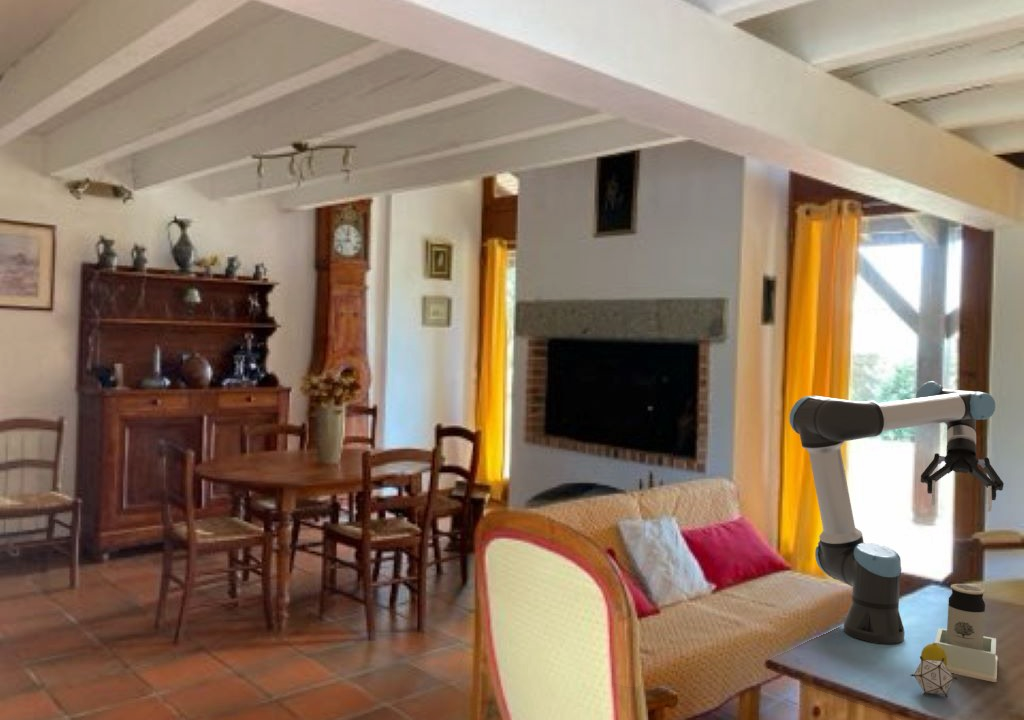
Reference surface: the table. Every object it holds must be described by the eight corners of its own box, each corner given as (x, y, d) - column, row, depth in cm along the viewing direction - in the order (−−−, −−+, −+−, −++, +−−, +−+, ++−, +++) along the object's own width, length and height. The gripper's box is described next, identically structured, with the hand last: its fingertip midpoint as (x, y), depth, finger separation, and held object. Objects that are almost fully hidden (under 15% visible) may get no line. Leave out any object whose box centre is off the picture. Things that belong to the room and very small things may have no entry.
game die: (934, 707, 191) (955, 669, 193) (949, 709, 183) (971, 670, 185) (898, 683, 193) (918, 645, 196) (911, 684, 185) (932, 645, 188)
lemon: (923, 669, 204) (925, 637, 204) (948, 676, 200) (950, 643, 200) (917, 676, 200) (919, 642, 199) (942, 683, 196) (944, 649, 196)
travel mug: (953, 651, 215) (957, 581, 214) (986, 661, 209) (991, 589, 208) (940, 658, 209) (944, 586, 209) (974, 668, 203) (978, 594, 203)
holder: (996, 682, 198) (997, 658, 197) (930, 668, 205) (931, 645, 204) (997, 658, 213) (998, 636, 213) (935, 646, 220) (936, 624, 220)
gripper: (1010, 457, 239) (1012, 519, 226) (912, 449, 250) (909, 507, 236) (1013, 440, 234) (1015, 502, 221) (913, 432, 245) (910, 491, 231)
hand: (961, 505), depth 229 cm, fingers open, 13 cm apart
